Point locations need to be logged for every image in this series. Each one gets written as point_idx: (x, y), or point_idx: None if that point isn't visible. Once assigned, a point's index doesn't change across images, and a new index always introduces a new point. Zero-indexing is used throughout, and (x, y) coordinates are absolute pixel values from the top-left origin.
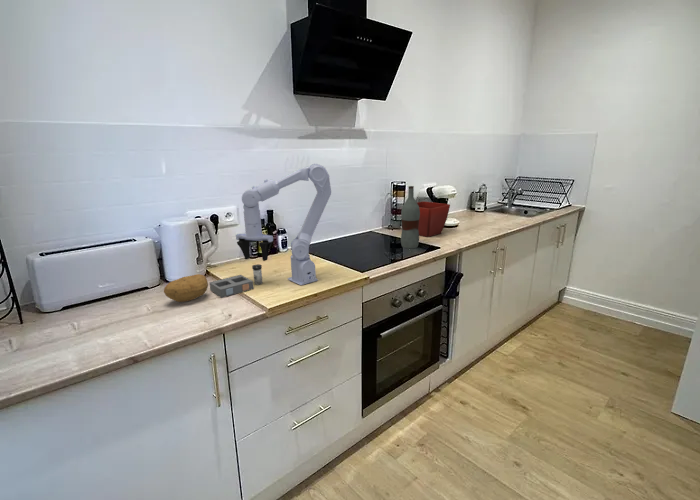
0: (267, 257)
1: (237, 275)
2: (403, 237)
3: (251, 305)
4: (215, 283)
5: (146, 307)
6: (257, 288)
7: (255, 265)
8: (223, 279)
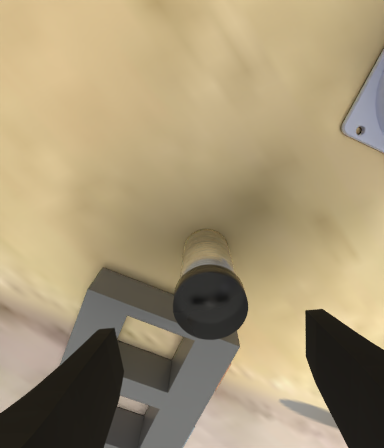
0: (335, 322)
1: (82, 307)
2: None
3: (338, 443)
4: None
5: None
6: None
7: (194, 306)
8: None
